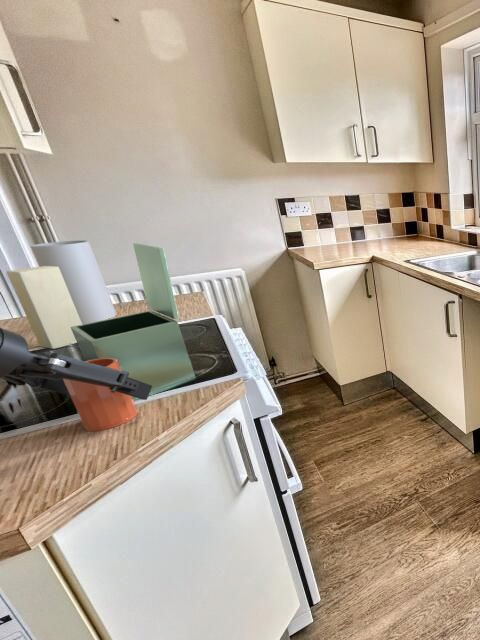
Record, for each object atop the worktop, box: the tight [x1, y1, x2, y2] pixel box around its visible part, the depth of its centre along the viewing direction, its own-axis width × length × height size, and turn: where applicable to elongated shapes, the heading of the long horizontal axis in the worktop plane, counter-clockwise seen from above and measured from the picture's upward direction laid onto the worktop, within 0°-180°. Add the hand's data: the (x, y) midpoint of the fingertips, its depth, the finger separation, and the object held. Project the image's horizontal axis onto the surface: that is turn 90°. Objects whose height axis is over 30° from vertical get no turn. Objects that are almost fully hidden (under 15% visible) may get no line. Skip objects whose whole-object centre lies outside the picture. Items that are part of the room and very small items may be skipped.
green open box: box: [71, 309, 198, 402], centre depth 90 cm, size 14×16×14 cm
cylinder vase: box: [30, 239, 118, 324], centre depth 132 cm, size 12×12×25 cm
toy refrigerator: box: [6, 266, 82, 350], centre depth 114 cm, size 8×7×21 cm
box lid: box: [132, 242, 180, 320], centre depth 90 cm, size 14×16×1 cm
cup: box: [62, 358, 139, 432], centre depth 76 cm, size 7×7×11 cm
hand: (115, 392), depth 79 cm, fingers open, 12 cm apart
